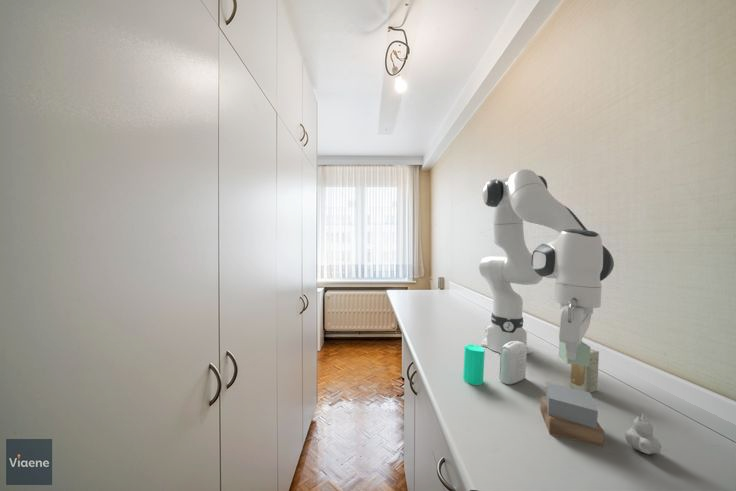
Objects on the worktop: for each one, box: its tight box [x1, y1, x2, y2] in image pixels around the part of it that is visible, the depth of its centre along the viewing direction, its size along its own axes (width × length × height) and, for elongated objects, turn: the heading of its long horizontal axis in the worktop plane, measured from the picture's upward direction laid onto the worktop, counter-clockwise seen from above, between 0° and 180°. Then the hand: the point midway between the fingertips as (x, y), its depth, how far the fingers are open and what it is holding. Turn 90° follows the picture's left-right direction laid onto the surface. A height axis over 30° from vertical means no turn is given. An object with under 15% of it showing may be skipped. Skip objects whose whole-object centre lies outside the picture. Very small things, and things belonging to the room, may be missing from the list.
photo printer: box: [498, 341, 528, 385], centre depth 90 cm, size 10×4×12 cm, turn 124°
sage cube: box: [558, 339, 591, 366], centre depth 66 cm, size 4×4×4 cm
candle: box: [462, 342, 485, 386], centre depth 88 cm, size 6×6×12 cm
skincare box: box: [569, 348, 600, 393], centre depth 86 cm, size 6×4×12 cm
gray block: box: [545, 381, 599, 429], centre depth 67 cm, size 9×9×4 cm
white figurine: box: [624, 412, 662, 455], centre depth 60 cm, size 5×7×8 cm
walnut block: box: [539, 396, 605, 448], centre depth 67 cm, size 10×10×4 cm
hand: (573, 354), depth 66 cm, fingers closed on sage cube, 6 cm apart
